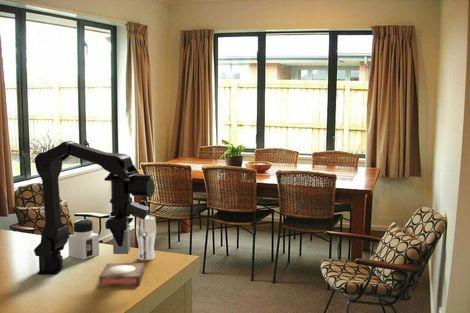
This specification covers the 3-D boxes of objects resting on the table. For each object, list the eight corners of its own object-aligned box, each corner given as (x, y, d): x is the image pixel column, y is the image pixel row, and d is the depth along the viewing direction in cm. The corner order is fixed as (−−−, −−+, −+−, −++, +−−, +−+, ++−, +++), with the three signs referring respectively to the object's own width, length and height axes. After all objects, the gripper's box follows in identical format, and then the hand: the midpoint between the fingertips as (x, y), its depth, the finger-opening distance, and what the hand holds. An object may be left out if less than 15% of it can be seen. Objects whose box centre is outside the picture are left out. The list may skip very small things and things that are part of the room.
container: (99, 254, 181) (98, 219, 179) (82, 260, 174) (81, 224, 173) (85, 250, 185) (84, 216, 183) (68, 256, 178) (67, 221, 177)
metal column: (113, 254, 153) (112, 228, 152) (116, 249, 158) (115, 225, 157) (127, 253, 154) (127, 228, 153) (130, 249, 158) (129, 225, 157)
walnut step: (99, 286, 150) (99, 276, 150) (107, 272, 162) (107, 263, 162) (139, 285, 151) (138, 276, 151) (144, 271, 163) (144, 262, 163)
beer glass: (152, 262, 173) (151, 220, 171) (133, 260, 174) (132, 219, 172) (159, 255, 180) (158, 215, 178) (141, 254, 181) (140, 214, 179)
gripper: (143, 201, 145) (143, 253, 147) (150, 189, 163) (150, 235, 165) (104, 201, 144) (105, 253, 146) (116, 189, 163) (117, 235, 165)
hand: (121, 244), depth 155 cm, fingers closed on metal column, 4 cm apart
